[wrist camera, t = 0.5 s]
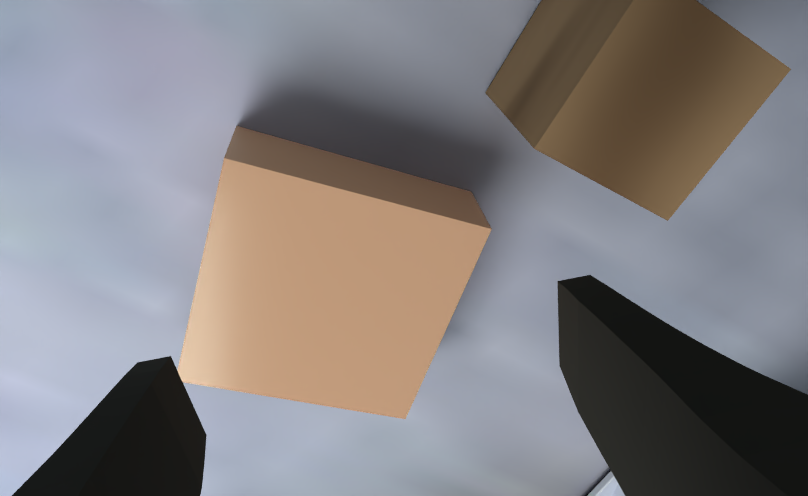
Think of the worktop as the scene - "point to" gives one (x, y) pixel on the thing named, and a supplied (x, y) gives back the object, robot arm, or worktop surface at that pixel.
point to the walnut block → (634, 92)
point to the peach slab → (327, 277)
